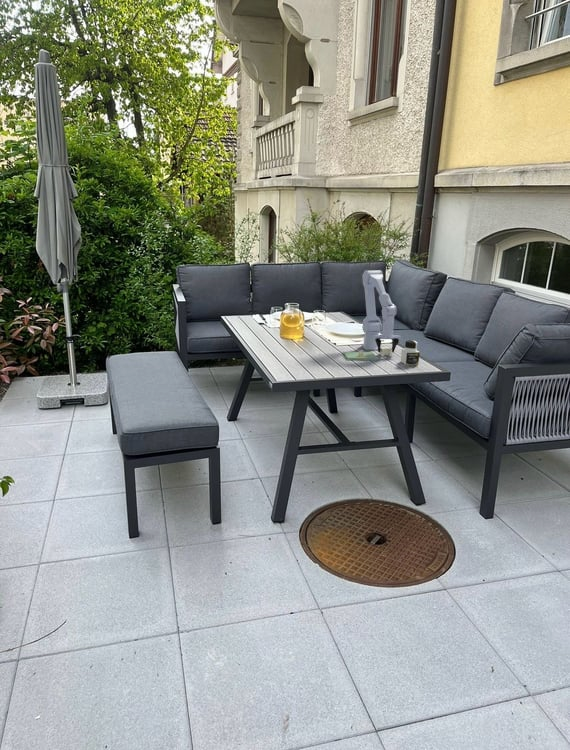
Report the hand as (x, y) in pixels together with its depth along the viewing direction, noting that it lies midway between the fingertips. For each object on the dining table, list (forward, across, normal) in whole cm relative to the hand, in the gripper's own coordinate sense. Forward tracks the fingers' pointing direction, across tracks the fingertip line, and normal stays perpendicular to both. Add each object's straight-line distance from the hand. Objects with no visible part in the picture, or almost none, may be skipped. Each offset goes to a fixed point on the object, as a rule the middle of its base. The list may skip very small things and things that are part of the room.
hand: (385, 352), depth 309 cm
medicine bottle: (+2, +9, -15) cm, 18 cm away
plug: (+2, 0, 0) cm, 2 cm away
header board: (+2, -15, -4) cm, 16 cm away
